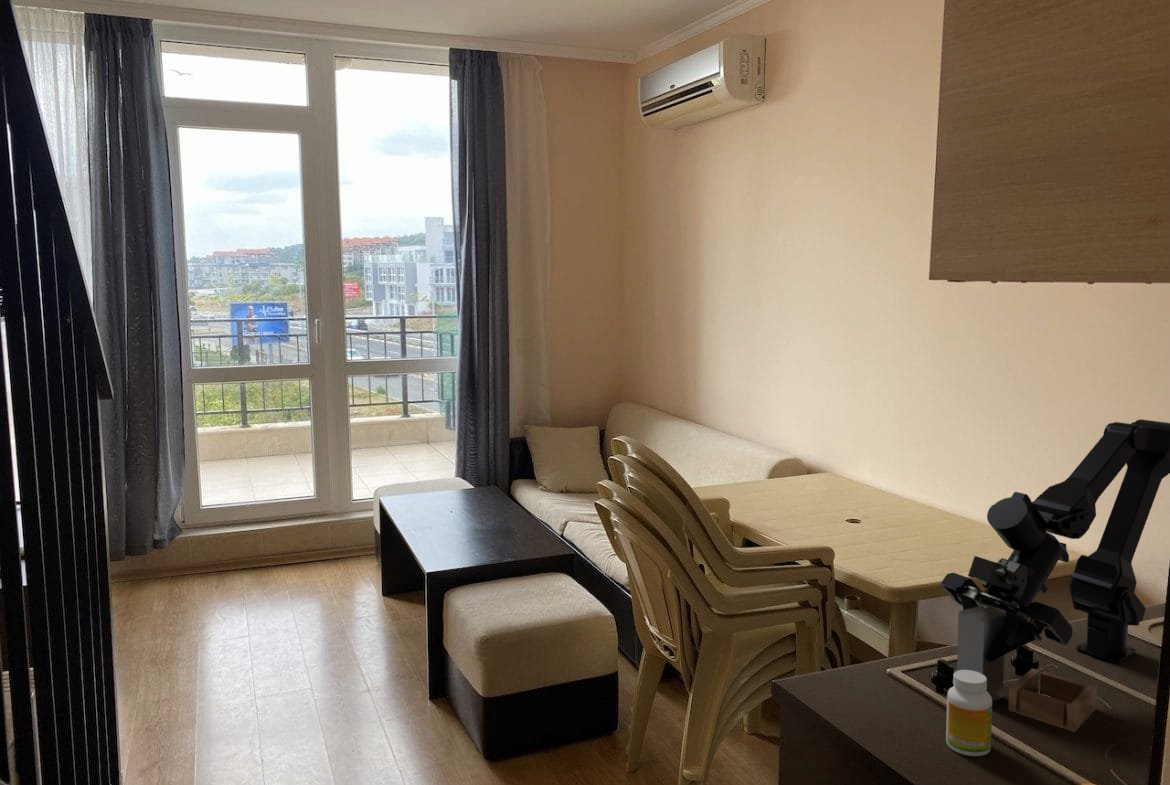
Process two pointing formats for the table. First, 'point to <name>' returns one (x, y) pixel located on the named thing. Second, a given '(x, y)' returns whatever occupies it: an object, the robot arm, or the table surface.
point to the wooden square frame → (1053, 699)
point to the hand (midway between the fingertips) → (973, 654)
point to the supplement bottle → (969, 714)
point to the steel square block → (981, 646)
